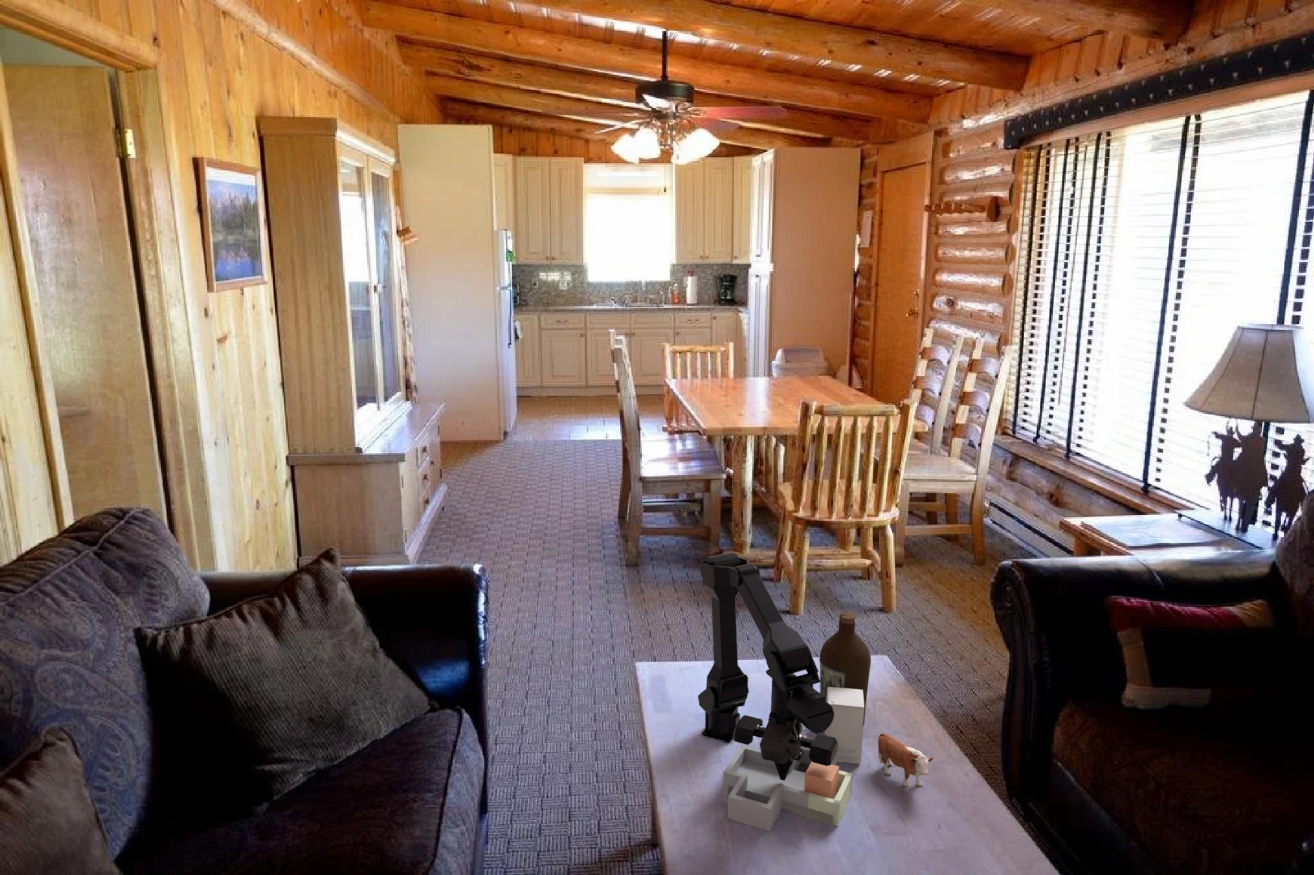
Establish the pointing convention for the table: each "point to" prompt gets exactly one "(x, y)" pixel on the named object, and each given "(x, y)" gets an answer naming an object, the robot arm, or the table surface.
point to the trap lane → (778, 791)
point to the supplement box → (847, 722)
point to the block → (822, 780)
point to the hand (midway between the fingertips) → (783, 779)
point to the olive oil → (845, 659)
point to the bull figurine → (902, 758)
